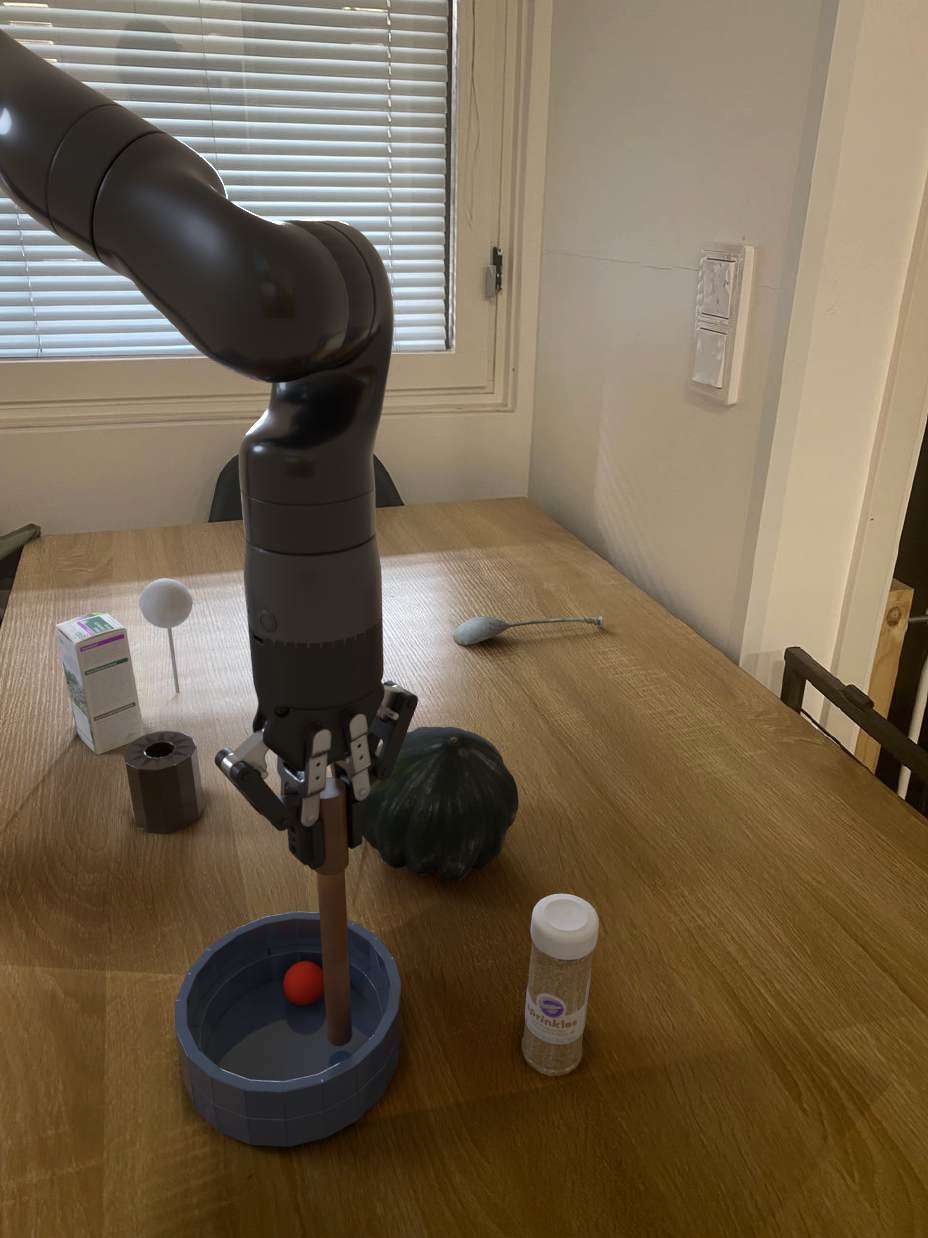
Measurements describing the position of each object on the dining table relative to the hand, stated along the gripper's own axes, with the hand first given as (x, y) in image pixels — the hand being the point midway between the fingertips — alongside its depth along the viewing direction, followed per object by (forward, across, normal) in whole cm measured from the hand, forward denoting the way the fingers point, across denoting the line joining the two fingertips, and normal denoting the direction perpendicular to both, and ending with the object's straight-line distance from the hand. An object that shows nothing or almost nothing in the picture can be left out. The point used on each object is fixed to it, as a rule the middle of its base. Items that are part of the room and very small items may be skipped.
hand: (329, 850), depth 58 cm
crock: (+19, -3, -34) cm, 39 cm away
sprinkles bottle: (+19, -12, +10) cm, 25 cm away
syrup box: (+19, -5, -51) cm, 54 cm away
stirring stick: (+17, 0, 0) cm, 17 cm away
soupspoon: (+19, -60, -39) cm, 74 cm away
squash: (+19, -20, -12) cm, 31 cm away
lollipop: (+19, -15, -56) cm, 61 cm away
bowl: (+19, +2, -2) cm, 19 cm away
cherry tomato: (+17, -1, -6) cm, 18 cm away
